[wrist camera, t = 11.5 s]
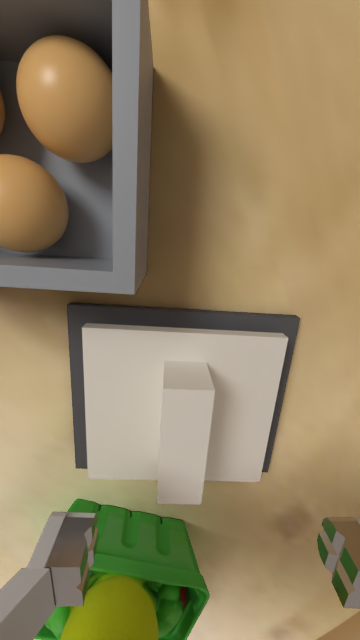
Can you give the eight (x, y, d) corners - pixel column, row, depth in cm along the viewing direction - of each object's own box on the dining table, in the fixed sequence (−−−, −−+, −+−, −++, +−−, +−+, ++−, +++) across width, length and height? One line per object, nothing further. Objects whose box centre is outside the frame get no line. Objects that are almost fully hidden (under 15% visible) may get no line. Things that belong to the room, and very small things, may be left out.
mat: (295, 315, 17) (299, 317, 16) (264, 465, 20) (267, 472, 20) (70, 302, 16) (66, 304, 16) (78, 461, 20) (75, 468, 19)
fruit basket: (44, 550, 22) (-72, 844, 11) (65, 469, 20) (-56, 744, 9) (174, 573, 24) (180, 851, 13) (209, 500, 21) (250, 767, 11)
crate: (153, 66, 13) (141, -71, 7) (146, 273, 16) (134, 294, 10) (-88, 39, 12) (-312, -136, 7) (-49, 261, 15) (-180, 276, 9)
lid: (277, 328, 17) (316, 361, 12) (252, 462, 20) (276, 528, 15) (90, 318, 16) (60, 349, 11) (94, 459, 19) (72, 526, 15)
